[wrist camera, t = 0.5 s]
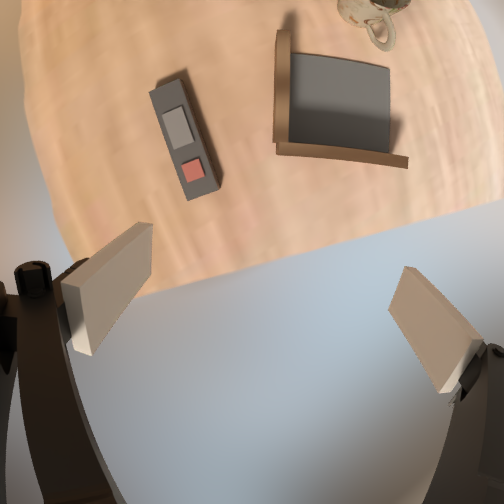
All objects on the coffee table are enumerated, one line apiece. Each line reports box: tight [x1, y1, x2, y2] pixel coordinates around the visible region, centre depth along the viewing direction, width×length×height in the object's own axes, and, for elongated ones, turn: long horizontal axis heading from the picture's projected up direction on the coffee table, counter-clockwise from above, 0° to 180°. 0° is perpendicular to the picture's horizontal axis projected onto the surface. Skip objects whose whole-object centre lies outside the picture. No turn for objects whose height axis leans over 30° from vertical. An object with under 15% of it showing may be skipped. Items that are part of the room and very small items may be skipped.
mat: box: [288, 53, 390, 153], centre depth 33 cm, size 13×14×1 cm
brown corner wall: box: [273, 30, 409, 169], centre depth 31 cm, size 16×16×6 cm
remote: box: [149, 78, 221, 201], centre depth 35 cm, size 16×4×2 cm, turn 18°
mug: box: [338, 0, 411, 52], centre depth 24 cm, size 8×13×10 cm, turn 18°
